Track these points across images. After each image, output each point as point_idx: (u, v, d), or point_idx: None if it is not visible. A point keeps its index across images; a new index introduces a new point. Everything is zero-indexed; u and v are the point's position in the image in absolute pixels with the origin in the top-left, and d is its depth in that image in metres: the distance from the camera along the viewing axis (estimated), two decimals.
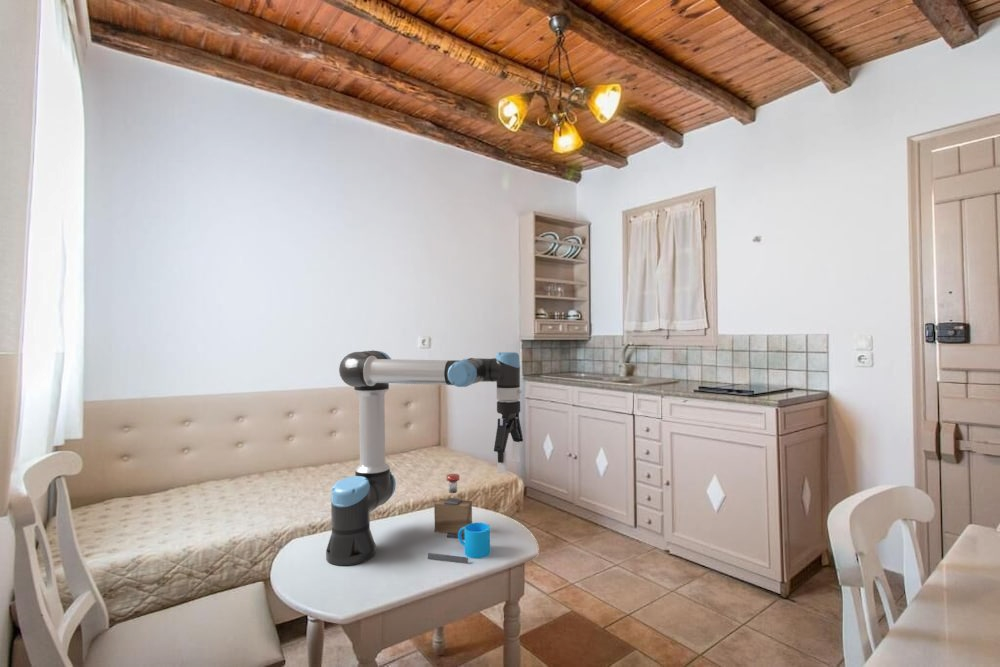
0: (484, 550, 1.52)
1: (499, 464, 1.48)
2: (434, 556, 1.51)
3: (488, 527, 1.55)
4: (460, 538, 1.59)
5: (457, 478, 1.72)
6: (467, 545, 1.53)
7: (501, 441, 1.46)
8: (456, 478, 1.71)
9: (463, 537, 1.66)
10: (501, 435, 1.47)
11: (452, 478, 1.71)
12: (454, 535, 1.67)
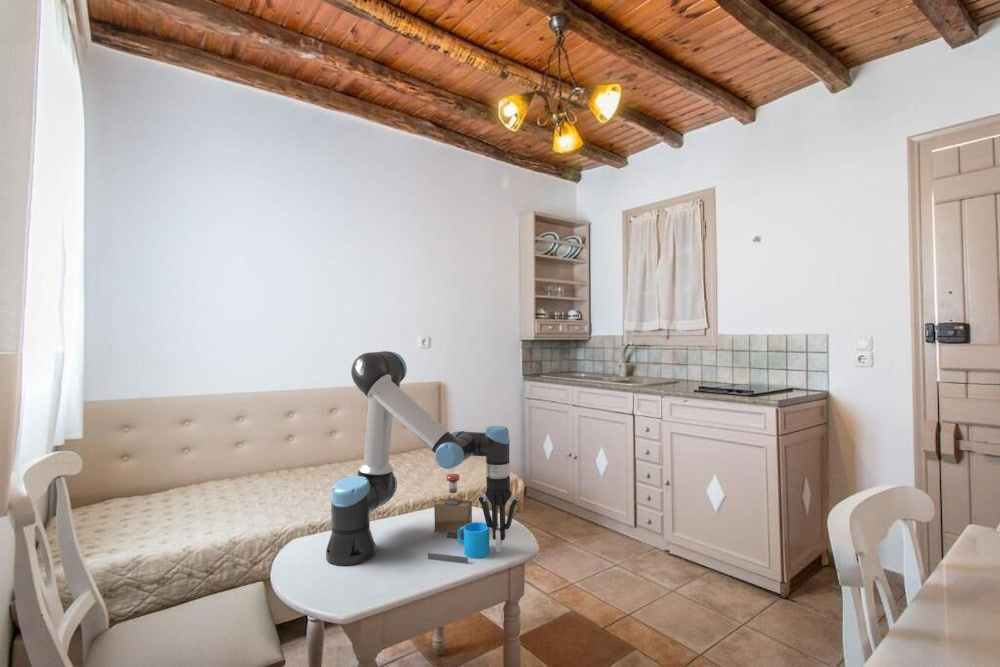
0: (483, 549, 1.52)
1: None
2: (434, 556, 1.51)
3: (487, 527, 1.55)
4: (459, 538, 1.59)
5: (457, 478, 1.72)
6: (466, 545, 1.53)
7: None
8: (456, 478, 1.71)
9: (463, 537, 1.66)
10: None
11: (452, 478, 1.71)
12: (454, 535, 1.67)
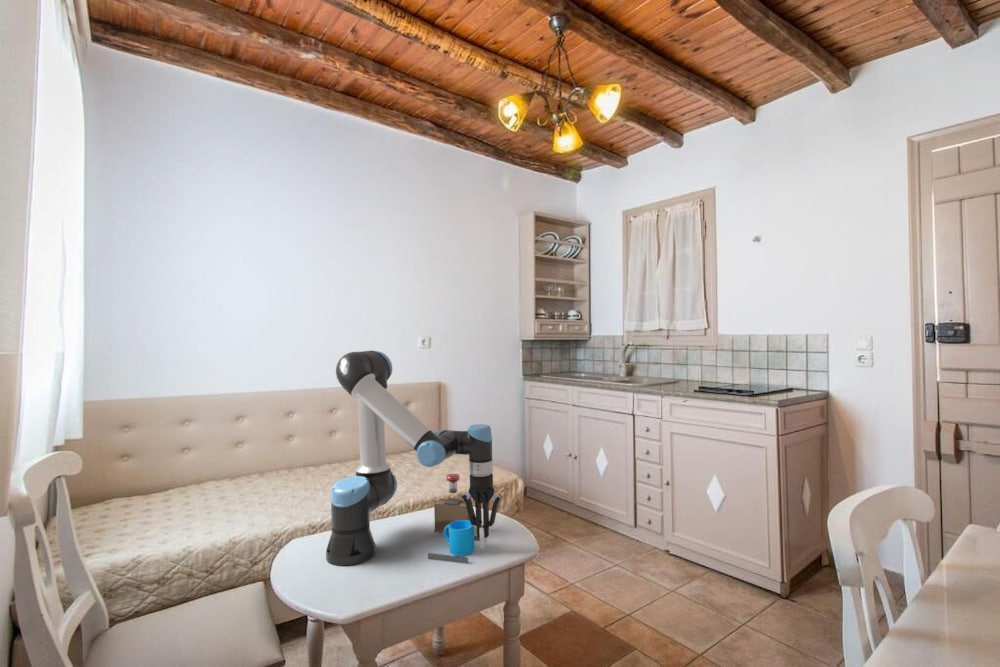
0: (467, 547, 1.54)
1: None
2: (434, 556, 1.51)
3: None
4: (446, 536, 1.61)
5: (457, 478, 1.72)
6: (451, 542, 1.55)
7: None
8: (456, 478, 1.71)
9: None
10: None
11: (452, 478, 1.71)
12: None
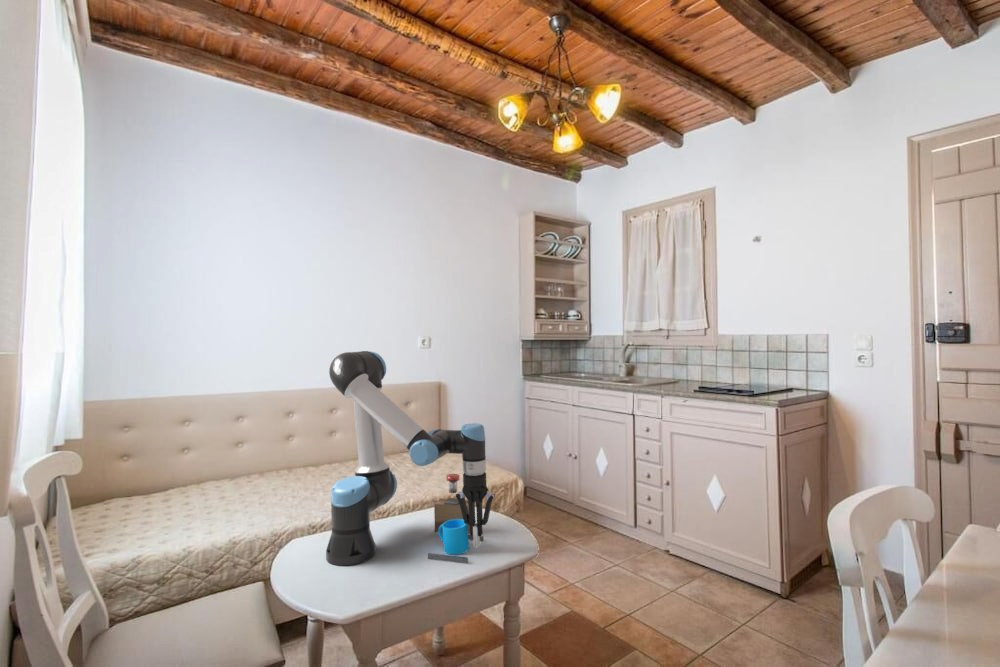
0: (461, 545, 1.54)
1: None
2: (434, 556, 1.51)
3: None
4: (440, 535, 1.62)
5: (457, 478, 1.72)
6: (445, 542, 1.55)
7: None
8: (456, 478, 1.71)
9: None
10: None
11: (452, 478, 1.71)
12: None
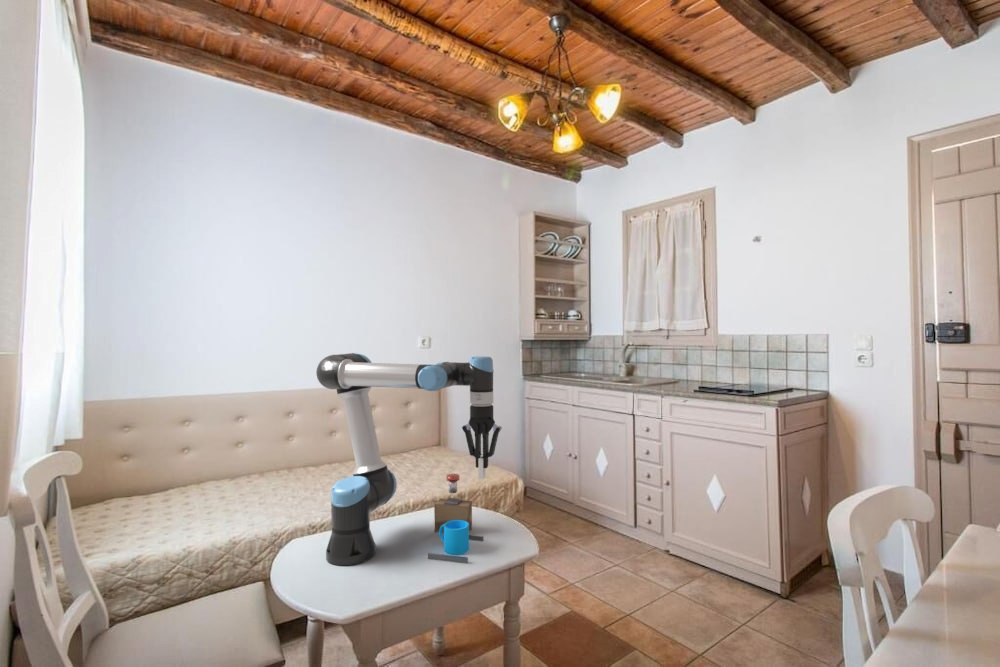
0: (461, 547, 1.54)
1: None
2: (434, 556, 1.51)
3: (467, 525, 1.58)
4: (441, 535, 1.62)
5: (457, 478, 1.72)
6: (446, 542, 1.55)
7: None
8: (456, 478, 1.71)
9: None
10: None
11: (452, 478, 1.71)
12: None
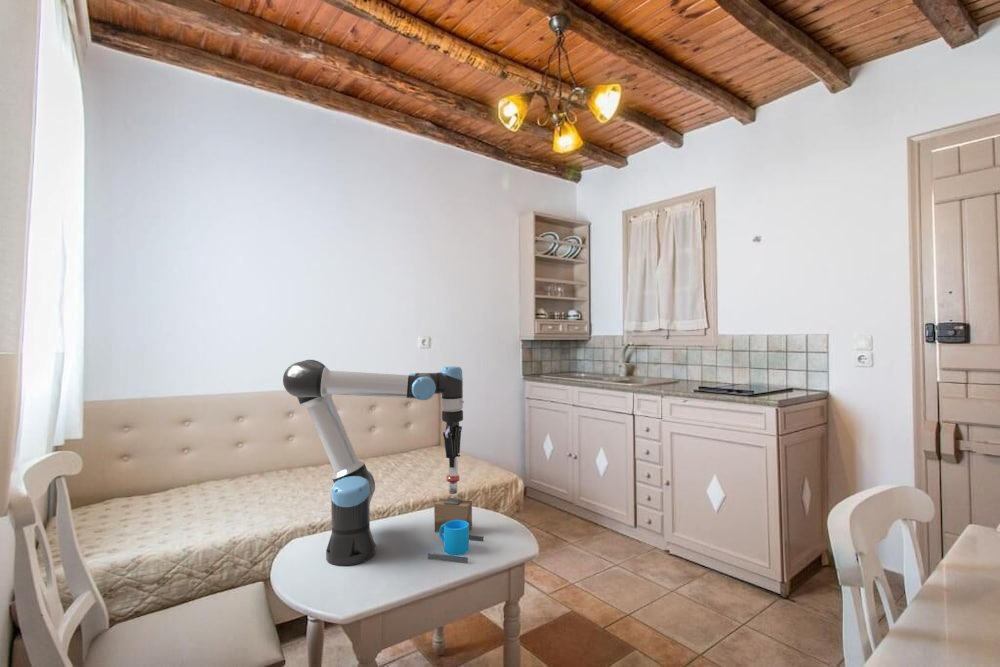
0: (461, 547, 1.54)
1: (450, 469, 1.73)
2: (434, 556, 1.51)
3: (467, 524, 1.58)
4: (441, 535, 1.62)
5: (457, 479, 1.72)
6: (446, 542, 1.55)
7: (450, 451, 1.69)
8: (456, 479, 1.71)
9: None
10: (449, 446, 1.69)
11: (452, 479, 1.71)
12: None
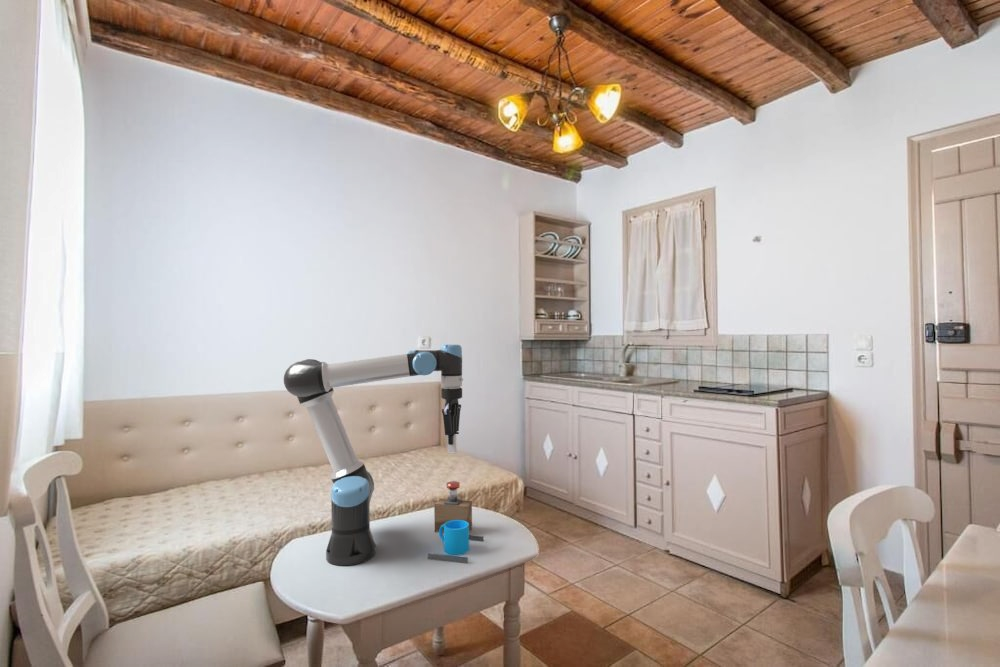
0: (461, 547, 1.54)
1: (449, 446, 1.74)
2: (434, 556, 1.51)
3: (467, 525, 1.58)
4: (441, 535, 1.62)
5: (457, 486, 1.72)
6: (446, 542, 1.55)
7: (449, 427, 1.70)
8: (456, 486, 1.71)
9: None
10: (448, 423, 1.69)
11: (452, 485, 1.71)
12: None
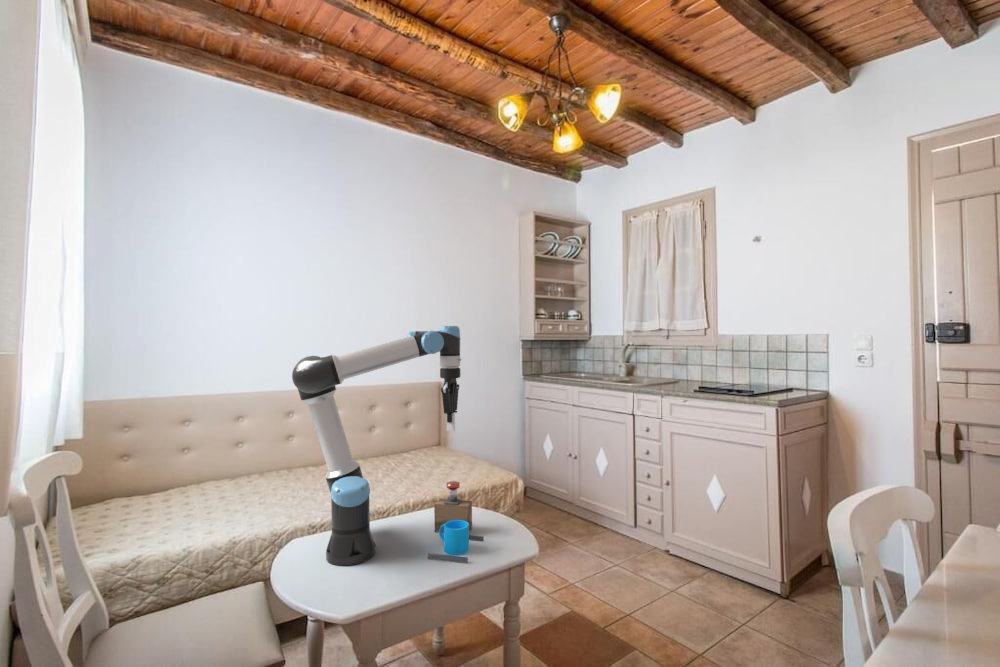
0: (461, 547, 1.54)
1: (448, 424, 1.79)
2: (434, 556, 1.51)
3: (467, 525, 1.58)
4: (441, 535, 1.62)
5: (457, 486, 1.72)
6: (446, 542, 1.55)
7: (448, 406, 1.76)
8: (456, 486, 1.71)
9: None
10: (447, 401, 1.75)
11: (452, 485, 1.71)
12: None
